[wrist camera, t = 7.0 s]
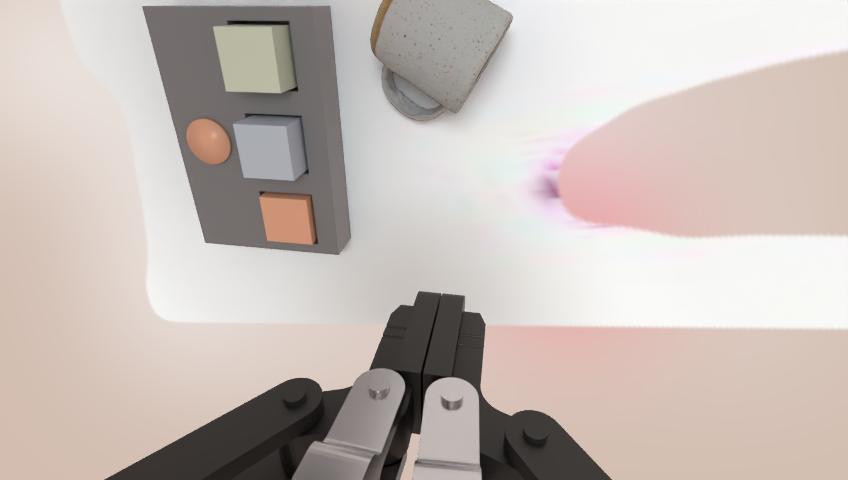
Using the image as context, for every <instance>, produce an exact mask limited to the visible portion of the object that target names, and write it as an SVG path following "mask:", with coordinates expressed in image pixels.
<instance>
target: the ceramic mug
mask: <svg viewBox="0 0 848 480" xmlns="http://www.w3.org/2000/svg"><path fill="white" fill-rule="evenodd" d="M512 19H513V16H512V15H511V13H509V12H507V11H506V10H504V9H502V8H501V7H499V6H497V5H495V4H494V3H492V2H491V1H489V0H383V1H382V3H381V5H380V7H379V10H378V13H377V15H376V18H375V21H374V25H373V28H372V33H371V39H370V41H371V48H372V51H373V53H374V55H375V56H376V57H377V58H378V59H379V60H380V61H381V62H382V63H383V64H384V68H383V73H382V86H383V90H384V92H385V95H386V96H387V98H388V100H389V101H390V102H391V104H392V105H393V106H394V107H395V108H396V109H397V110H398V111H400V112H401V113H403V114H404V115H406V116H407V117H409V118H412V119H414V120H419V121H423V120H430V119H432V118H435V117H437V116H438V115H440V114H441V113H443V112H444V111H445V110H446V109H447V108H448V109H449V110H451V111H452V112H454V113H457V112H459V110H460V109H461V107H462V105H463V104H464V102H465V101H466V99H467V97H468V96H469V94H470V93H471V91H472V89H473V88H474V86H475V84H476V83H477V81H478V80H479V78H480V76H481V74H482V72H483V71H484V69H485V68H486V66H487V64H488V63H489V61H490V59H491V58H492V56H493V54H494V53H495V51H496V49H497V47H498V46H499V44H500V42H501V40H502V38H503V37H504V35H505V33H506V31H507V30H508V28H509V26H510V24H511V22H512ZM393 72H395V73H396V74H398V75H399V76H401V77H403V78H404V79H406V80H408V81H409V82H411V83H412V84H413V85H415V86H416V87H418V88H419V89H420V90H422V91H423V92H425V93H426V94H427V95H429V96H430V97H432V98H433V99H435V100H436V101H438V102H439V103H440V104H441V105H440V106H438V107H436V108H433V109H425V108H423V107H419V106H418V105H416V104H415V103H414V102H412V101H411V100H410V99H408V98H407V97H406V96H404V94H403V93H402V92H401V91H399V90H397V88H396V86H395V83H394V80H393Z"/></svg>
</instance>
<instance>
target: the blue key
mask: <svg viewBox="0 0 848 480" xmlns="http://www.w3.org/2000/svg"><path fill="white" fill-rule="evenodd" d="M233 127H234V132H235V137H236V142H237V147H238V152H239V157H240V162H241V167H242V172H243V176H244V178H259V179H274V180H289V181H294V180H295V179H297V178H298V177H299V176H300V175H301V174H303V173H304V172H305V171H306V170H307V169H308V161H307V153H306V146H305V138H304V130H303V123H302V117H292V116H268V115H252V116H250V117H247V118H245V119H243V120H241V121H238V122H236V123H234V124H233Z"/></svg>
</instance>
